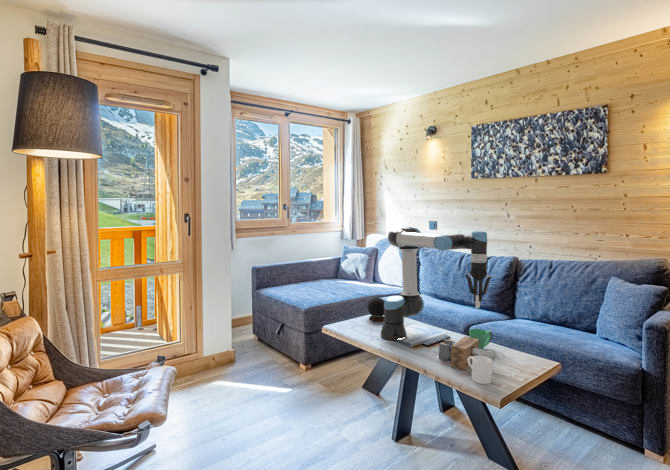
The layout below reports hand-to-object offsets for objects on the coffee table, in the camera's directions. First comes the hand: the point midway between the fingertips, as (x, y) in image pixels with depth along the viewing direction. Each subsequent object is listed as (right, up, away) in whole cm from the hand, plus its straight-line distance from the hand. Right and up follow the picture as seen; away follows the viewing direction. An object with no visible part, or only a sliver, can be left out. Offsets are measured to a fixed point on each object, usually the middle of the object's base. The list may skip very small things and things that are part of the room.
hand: (477, 307), depth 200 cm
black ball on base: (-44, -21, +66) cm, 82 cm away
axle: (-6, -22, -8) cm, 24 cm away
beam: (-8, -27, -5) cm, 28 cm away
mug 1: (+7, -25, +13) cm, 29 cm away
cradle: (-16, -26, 0) cm, 30 cm away
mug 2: (-8, -28, -23) cm, 37 cm away
